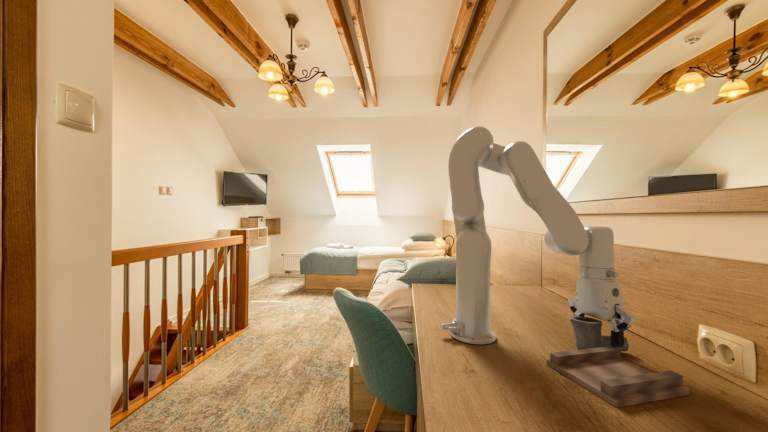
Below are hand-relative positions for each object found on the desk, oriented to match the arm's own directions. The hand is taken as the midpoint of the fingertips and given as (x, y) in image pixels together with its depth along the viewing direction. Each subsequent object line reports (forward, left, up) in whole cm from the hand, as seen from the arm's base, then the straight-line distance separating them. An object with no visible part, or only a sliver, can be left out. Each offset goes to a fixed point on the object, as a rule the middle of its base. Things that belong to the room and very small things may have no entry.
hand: (598, 339), depth 76 cm
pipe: (0, 0, -3) cm, 3 cm away
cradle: (-11, -12, -3) cm, 16 cm away
